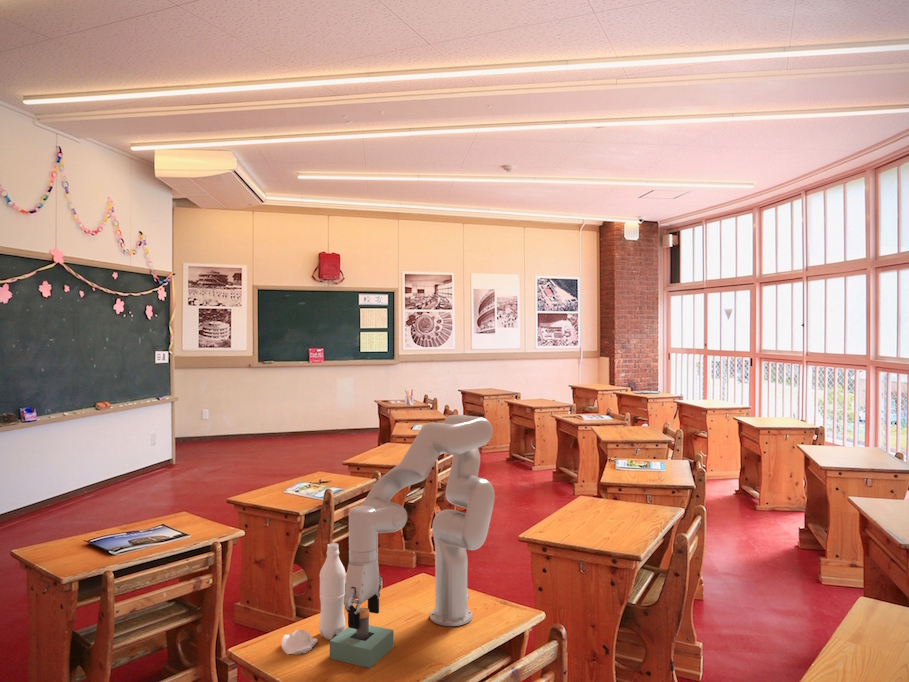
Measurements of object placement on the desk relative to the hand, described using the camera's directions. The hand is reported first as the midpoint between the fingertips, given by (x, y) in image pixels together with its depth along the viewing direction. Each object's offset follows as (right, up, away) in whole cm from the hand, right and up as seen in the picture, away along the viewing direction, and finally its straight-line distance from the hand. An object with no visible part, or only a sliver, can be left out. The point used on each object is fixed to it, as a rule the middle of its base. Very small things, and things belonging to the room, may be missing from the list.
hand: (364, 620), depth 161 cm
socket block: (0, -8, -1) cm, 8 cm away
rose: (-18, -9, +3) cm, 20 cm away
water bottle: (-10, -9, +9) cm, 16 cm away
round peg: (0, -8, 0) cm, 8 cm away
